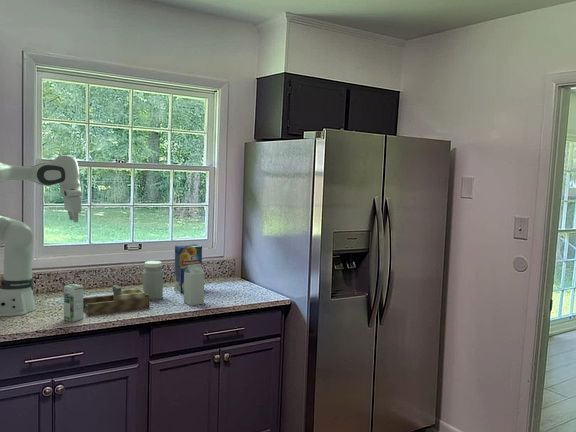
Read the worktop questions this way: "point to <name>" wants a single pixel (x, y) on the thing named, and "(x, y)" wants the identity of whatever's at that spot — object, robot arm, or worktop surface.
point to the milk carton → (194, 285)
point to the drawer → (126, 293)
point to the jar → (153, 279)
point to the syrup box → (73, 302)
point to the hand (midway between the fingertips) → (73, 221)
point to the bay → (113, 304)
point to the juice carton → (185, 263)
